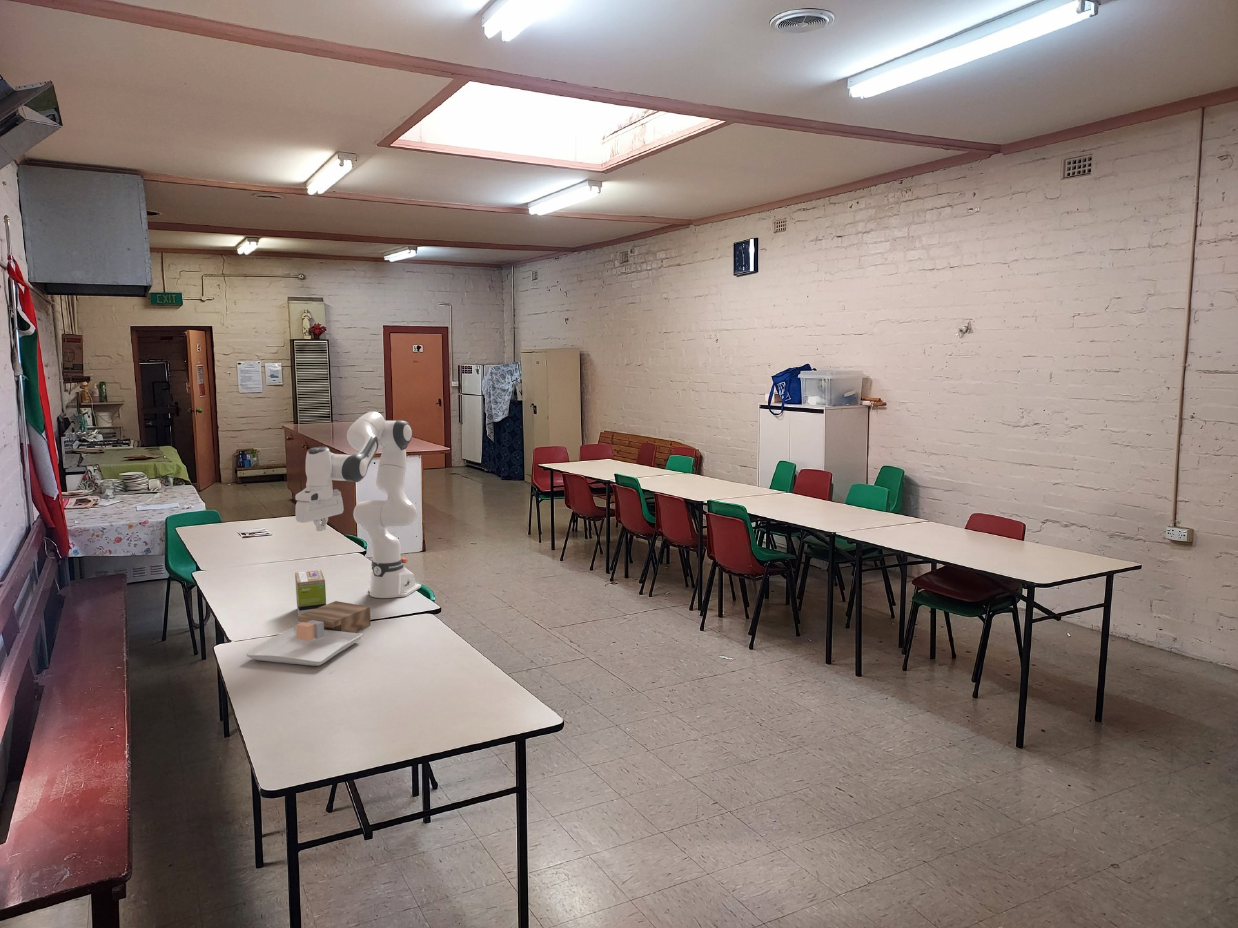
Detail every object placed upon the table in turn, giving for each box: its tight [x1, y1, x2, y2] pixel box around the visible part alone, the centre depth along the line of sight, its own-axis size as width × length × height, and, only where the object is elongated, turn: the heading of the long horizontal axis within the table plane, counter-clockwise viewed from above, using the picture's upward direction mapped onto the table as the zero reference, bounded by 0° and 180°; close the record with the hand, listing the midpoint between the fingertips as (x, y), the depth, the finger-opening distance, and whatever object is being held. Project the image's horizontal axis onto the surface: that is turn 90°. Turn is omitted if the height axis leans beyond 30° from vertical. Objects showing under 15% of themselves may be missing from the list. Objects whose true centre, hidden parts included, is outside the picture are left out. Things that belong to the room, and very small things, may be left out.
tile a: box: [295, 622, 315, 641], centre depth 273 cm, size 5×5×3 cm
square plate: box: [244, 627, 364, 667], centre depth 271 cm, size 27×27×4 cm
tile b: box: [306, 620, 324, 639], centre depth 275 cm, size 5×5×3 cm
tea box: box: [294, 569, 327, 616], centre depth 310 cm, size 15×10×15 cm, turn 25°
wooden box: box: [296, 600, 371, 633], centre depth 291 cm, size 19×16×7 cm
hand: (321, 530), depth 293 cm, fingers closed
